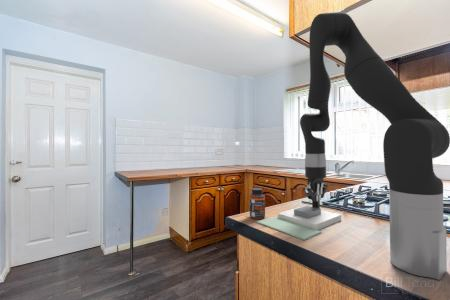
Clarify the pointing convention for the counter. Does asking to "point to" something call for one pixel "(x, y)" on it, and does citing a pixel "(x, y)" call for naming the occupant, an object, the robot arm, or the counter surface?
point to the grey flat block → (307, 212)
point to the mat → (289, 228)
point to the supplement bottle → (257, 204)
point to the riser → (311, 219)
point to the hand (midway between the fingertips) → (316, 209)
